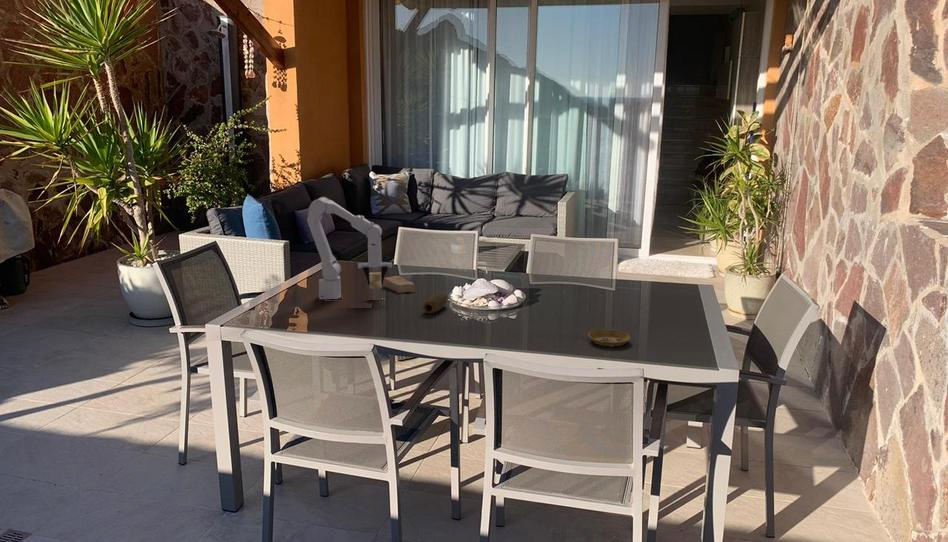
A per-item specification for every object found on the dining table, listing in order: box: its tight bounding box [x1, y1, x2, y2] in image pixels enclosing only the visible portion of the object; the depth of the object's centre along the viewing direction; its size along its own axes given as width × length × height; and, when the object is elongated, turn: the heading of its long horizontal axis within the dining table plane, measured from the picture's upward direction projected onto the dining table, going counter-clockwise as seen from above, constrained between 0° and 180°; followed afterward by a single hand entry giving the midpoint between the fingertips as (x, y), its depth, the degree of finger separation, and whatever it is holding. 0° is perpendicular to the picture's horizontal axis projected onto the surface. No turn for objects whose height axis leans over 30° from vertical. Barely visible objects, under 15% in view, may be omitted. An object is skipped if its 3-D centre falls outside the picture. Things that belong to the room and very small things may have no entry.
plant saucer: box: [588, 329, 631, 348], centre depth 265 cm, size 15×15×3 cm
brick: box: [383, 275, 415, 294], centre depth 337 cm, size 17×8×5 cm, turn 32°
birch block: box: [369, 271, 383, 290], centre depth 316 cm, size 5×5×6 cm
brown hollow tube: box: [422, 291, 448, 314], centre depth 303 cm, size 15×7×7 cm, turn 165°
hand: (375, 284), depth 317 cm, fingers closed on birch block, 5 cm apart
